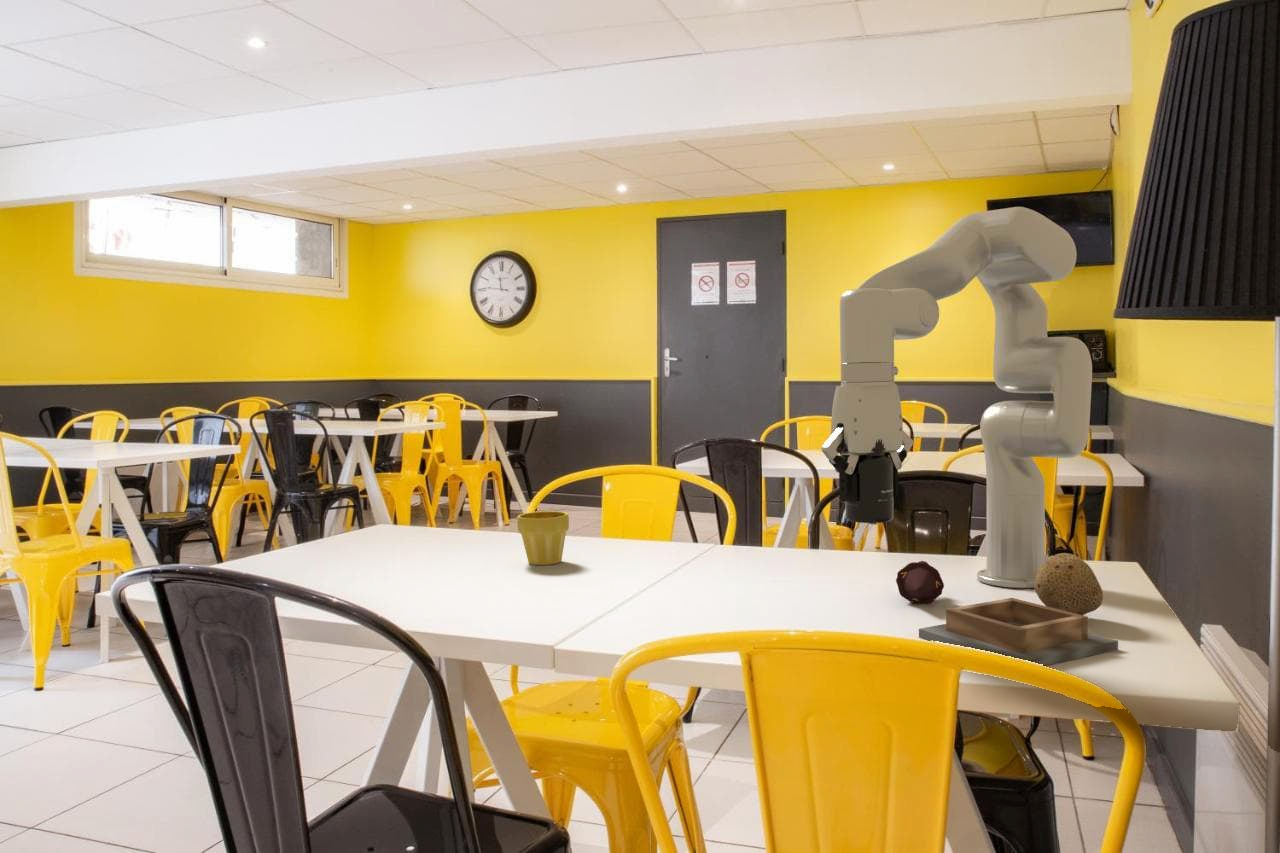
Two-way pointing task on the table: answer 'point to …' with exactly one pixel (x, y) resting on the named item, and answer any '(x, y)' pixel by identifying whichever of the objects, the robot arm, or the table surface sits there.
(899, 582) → the icecream
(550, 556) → the plant pot
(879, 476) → the supplement bottle
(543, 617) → the table surface
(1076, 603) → the natural sponge
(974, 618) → the collar board
